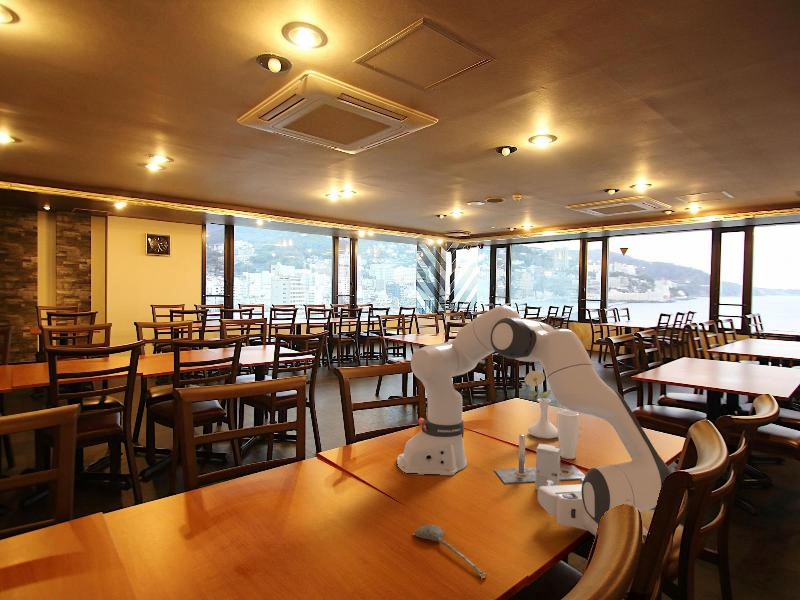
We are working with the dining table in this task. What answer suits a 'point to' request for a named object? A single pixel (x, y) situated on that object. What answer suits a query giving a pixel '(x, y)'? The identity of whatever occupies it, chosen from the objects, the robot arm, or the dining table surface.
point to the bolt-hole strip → (511, 477)
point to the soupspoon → (437, 534)
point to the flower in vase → (542, 425)
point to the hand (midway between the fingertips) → (565, 481)
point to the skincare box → (547, 465)
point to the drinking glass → (568, 432)
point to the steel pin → (521, 456)
